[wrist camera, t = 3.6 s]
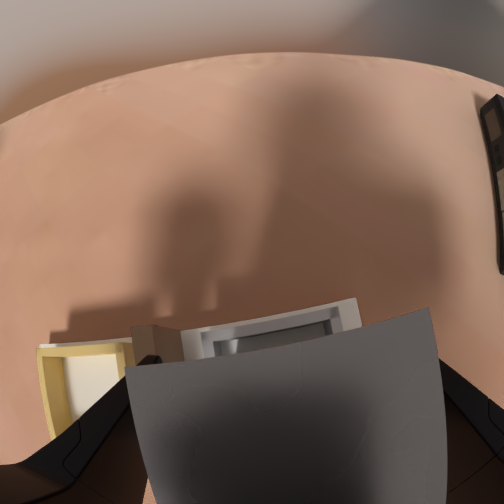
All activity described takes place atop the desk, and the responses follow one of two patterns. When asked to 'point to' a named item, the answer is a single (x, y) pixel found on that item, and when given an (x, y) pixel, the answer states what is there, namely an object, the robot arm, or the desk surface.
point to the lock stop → (299, 421)
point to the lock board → (168, 353)
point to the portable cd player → (496, 156)
